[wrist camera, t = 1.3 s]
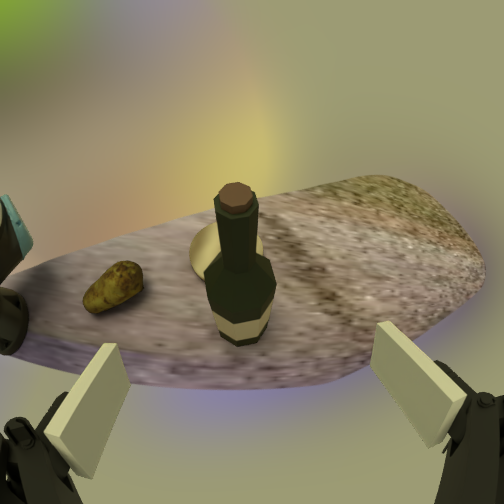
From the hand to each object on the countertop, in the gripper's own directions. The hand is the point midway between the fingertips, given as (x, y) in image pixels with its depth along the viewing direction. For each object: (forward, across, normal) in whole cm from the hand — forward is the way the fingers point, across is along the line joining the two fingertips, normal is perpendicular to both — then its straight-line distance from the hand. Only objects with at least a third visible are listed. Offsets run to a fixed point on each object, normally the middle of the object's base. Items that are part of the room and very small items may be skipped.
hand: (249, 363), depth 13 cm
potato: (+35, -22, -9) cm, 42 cm away
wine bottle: (+30, 0, -14) cm, 33 cm away
